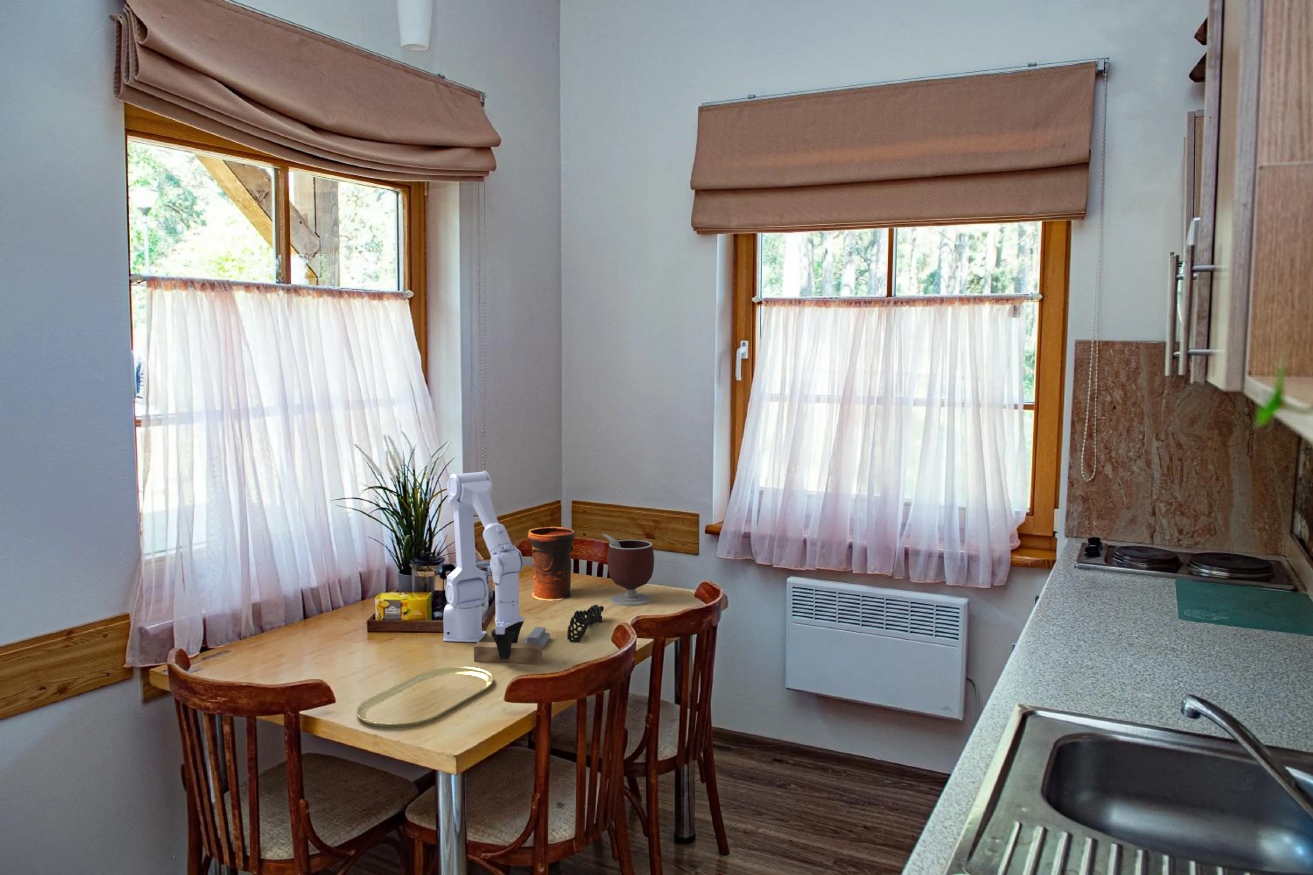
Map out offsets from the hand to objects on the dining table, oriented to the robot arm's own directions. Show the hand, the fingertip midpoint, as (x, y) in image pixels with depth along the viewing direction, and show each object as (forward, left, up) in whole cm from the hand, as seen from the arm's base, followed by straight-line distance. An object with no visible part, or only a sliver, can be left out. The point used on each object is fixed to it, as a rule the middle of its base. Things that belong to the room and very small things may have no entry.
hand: (508, 654), depth 232 cm
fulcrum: (+4, +13, -1) cm, 14 cm away
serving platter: (-11, -26, -2) cm, 28 cm away
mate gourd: (+22, +56, -2) cm, 60 cm away
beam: (0, 0, -2) cm, 2 cm away
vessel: (-2, +60, -2) cm, 60 cm away
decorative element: (+15, +26, -2) cm, 30 cm away
